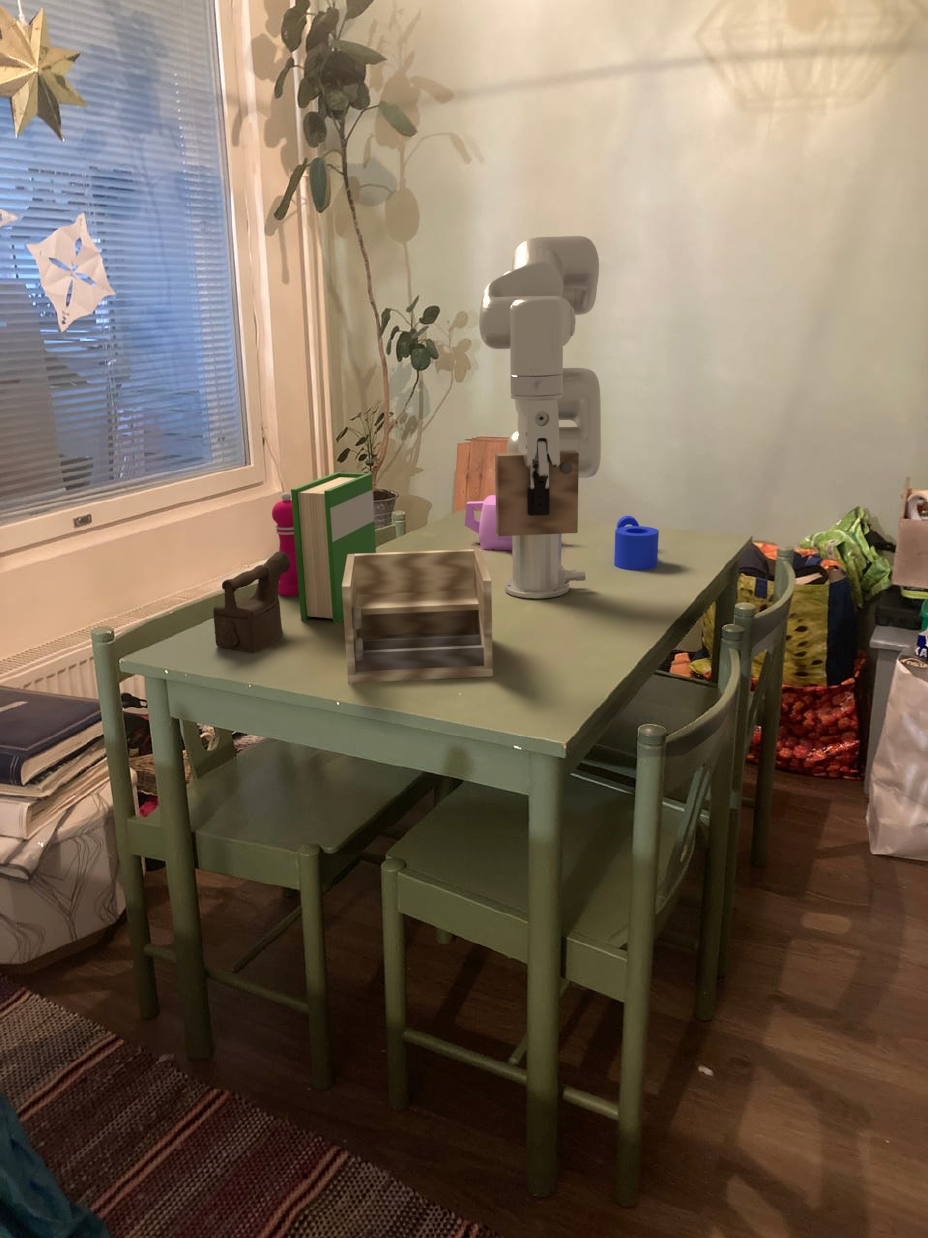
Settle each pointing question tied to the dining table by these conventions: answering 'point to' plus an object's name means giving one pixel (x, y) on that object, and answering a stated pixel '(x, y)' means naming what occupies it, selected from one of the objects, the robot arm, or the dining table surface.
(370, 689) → the dining table surface
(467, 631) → the wooden shelf rack
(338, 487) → the hardback book
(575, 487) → the wooden block
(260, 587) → the clothes iron
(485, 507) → the teakettle
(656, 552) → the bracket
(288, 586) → the pepper mill
